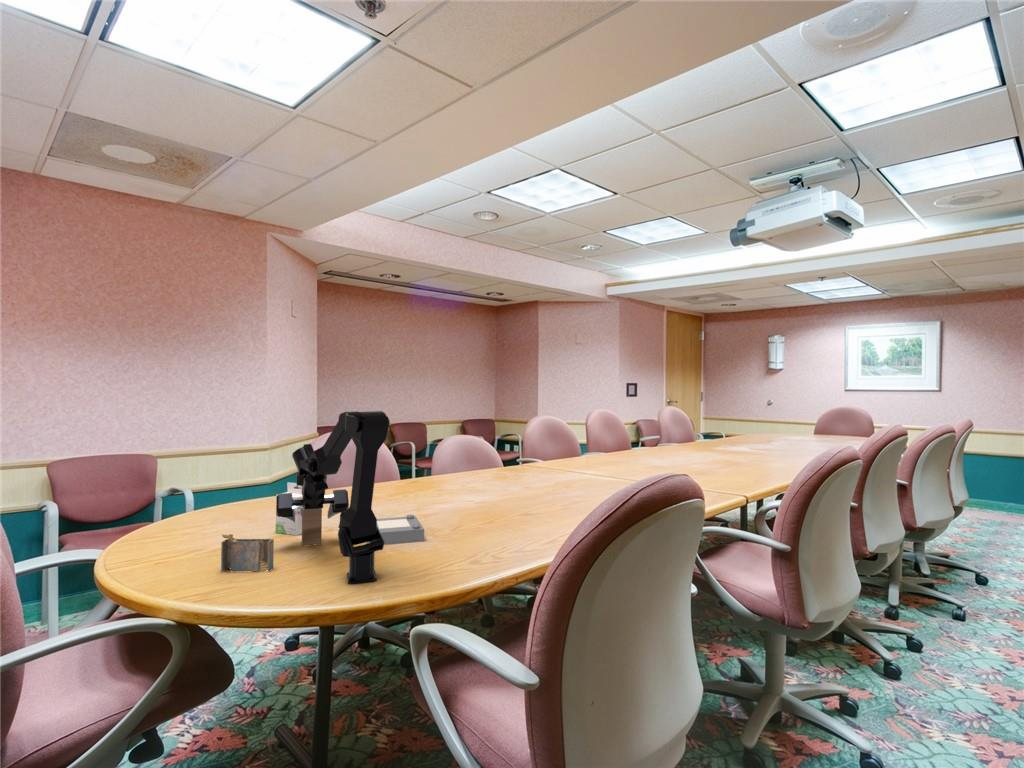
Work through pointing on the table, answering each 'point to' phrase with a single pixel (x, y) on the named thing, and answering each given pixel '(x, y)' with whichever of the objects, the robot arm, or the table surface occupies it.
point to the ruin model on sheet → (247, 554)
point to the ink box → (295, 527)
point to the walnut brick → (311, 526)
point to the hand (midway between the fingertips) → (311, 518)
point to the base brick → (400, 529)
